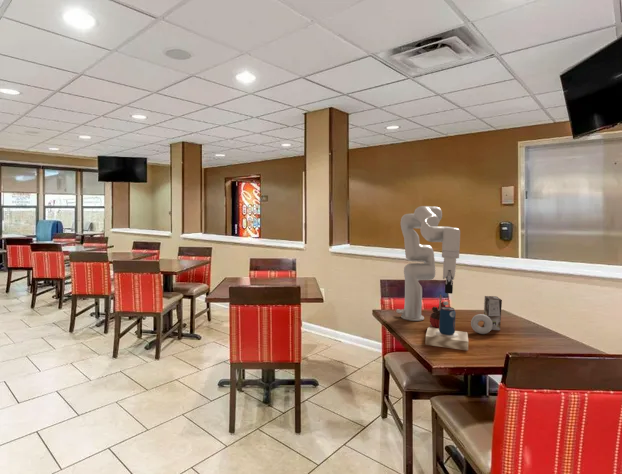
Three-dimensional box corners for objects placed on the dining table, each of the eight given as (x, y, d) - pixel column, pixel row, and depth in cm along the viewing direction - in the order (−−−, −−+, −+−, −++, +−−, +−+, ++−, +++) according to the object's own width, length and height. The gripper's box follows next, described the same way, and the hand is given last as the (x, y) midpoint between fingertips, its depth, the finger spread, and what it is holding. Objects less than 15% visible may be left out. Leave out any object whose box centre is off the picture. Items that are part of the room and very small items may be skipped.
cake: (425, 326, 194) (426, 293, 193) (439, 325, 197) (440, 292, 196) (438, 333, 184) (440, 297, 183) (453, 331, 187) (455, 296, 186)
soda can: (457, 335, 167) (458, 310, 167) (442, 336, 167) (443, 310, 166) (450, 331, 174) (451, 306, 173) (436, 331, 174) (437, 306, 173)
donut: (492, 334, 184) (493, 314, 183) (492, 336, 181) (493, 316, 180) (470, 331, 188) (471, 312, 187) (470, 333, 185) (471, 313, 184)
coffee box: (500, 330, 190) (502, 299, 189) (487, 329, 191) (489, 299, 190) (495, 325, 199) (497, 296, 198) (482, 324, 200) (484, 295, 199)
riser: (425, 344, 167) (425, 335, 167) (427, 335, 180) (427, 326, 180) (468, 350, 161) (468, 341, 160) (467, 340, 174) (467, 331, 174)
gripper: (442, 252, 177) (440, 287, 179) (441, 255, 161) (439, 294, 163) (459, 253, 175) (457, 288, 176) (459, 256, 159) (457, 295, 160)
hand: (448, 291), depth 169 cm, fingers open, 9 cm apart
